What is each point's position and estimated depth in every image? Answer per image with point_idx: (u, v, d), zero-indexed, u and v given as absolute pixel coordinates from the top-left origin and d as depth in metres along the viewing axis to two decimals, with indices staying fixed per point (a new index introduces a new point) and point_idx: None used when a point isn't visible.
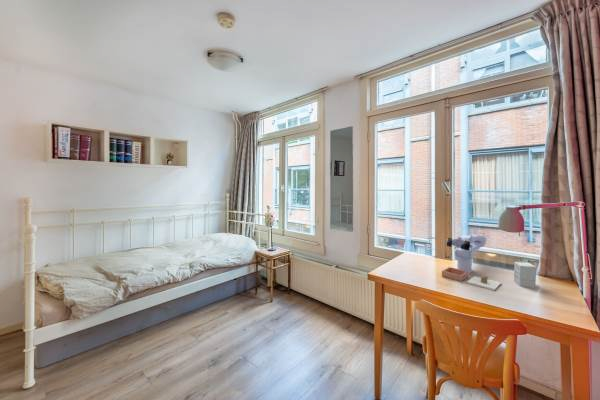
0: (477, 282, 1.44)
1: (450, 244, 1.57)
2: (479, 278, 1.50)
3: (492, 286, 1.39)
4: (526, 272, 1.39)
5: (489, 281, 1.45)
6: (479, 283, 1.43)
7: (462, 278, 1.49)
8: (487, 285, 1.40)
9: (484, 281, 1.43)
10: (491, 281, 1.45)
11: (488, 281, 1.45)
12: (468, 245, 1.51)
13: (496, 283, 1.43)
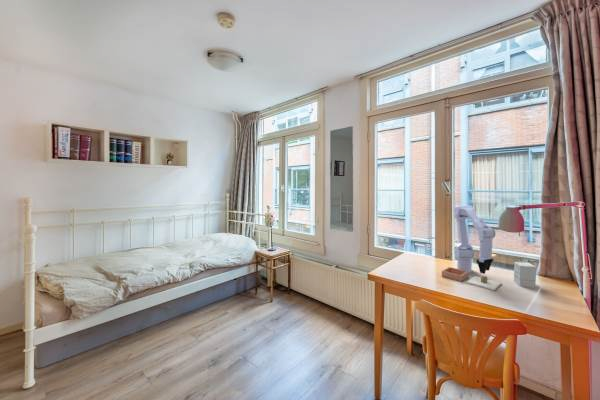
0: (477, 282, 1.44)
1: None
2: (479, 278, 1.50)
3: (492, 286, 1.39)
4: (526, 272, 1.39)
5: (489, 281, 1.45)
6: (479, 283, 1.43)
7: (462, 278, 1.49)
8: (487, 285, 1.40)
9: (484, 281, 1.43)
10: (491, 281, 1.45)
11: (488, 281, 1.45)
12: None
13: (496, 283, 1.43)
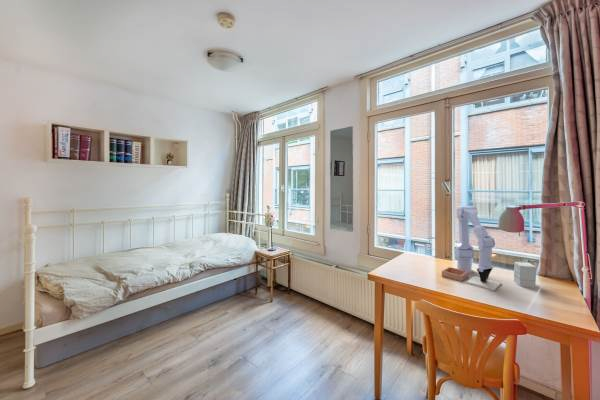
0: (477, 282, 1.44)
1: None
2: (479, 278, 1.50)
3: (492, 286, 1.39)
4: (526, 272, 1.39)
5: (489, 281, 1.45)
6: (479, 283, 1.43)
7: (462, 278, 1.49)
8: (487, 285, 1.40)
9: None
10: (491, 281, 1.45)
11: (488, 281, 1.45)
12: None
13: (496, 283, 1.43)
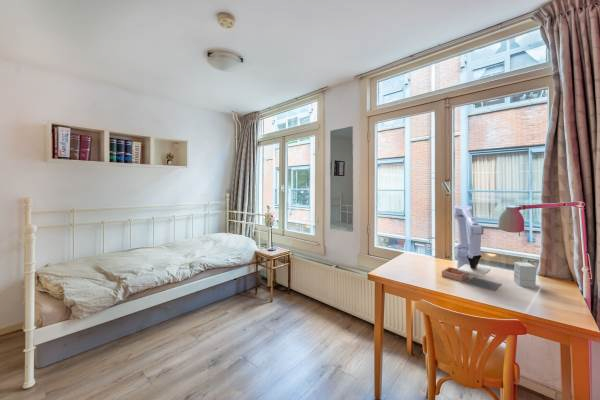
0: (467, 269, 1.47)
1: None
2: (469, 266, 1.53)
3: (481, 272, 1.42)
4: (526, 272, 1.39)
5: (479, 268, 1.48)
6: (469, 270, 1.46)
7: (462, 278, 1.49)
8: (477, 272, 1.43)
9: None
10: (481, 268, 1.49)
11: (478, 268, 1.49)
12: None
13: (485, 269, 1.46)
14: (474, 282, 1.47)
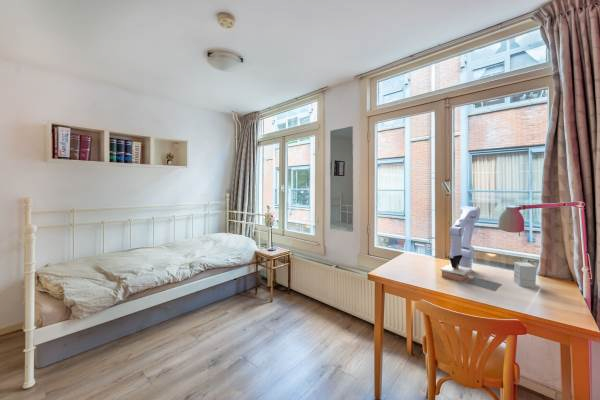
0: (449, 269, 1.55)
1: None
2: None
3: (462, 271, 1.49)
4: (526, 272, 1.39)
5: (460, 268, 1.55)
6: (451, 269, 1.53)
7: (462, 278, 1.49)
8: (458, 271, 1.50)
9: None
10: (462, 267, 1.56)
11: (460, 267, 1.56)
12: None
13: (466, 268, 1.53)
14: (474, 282, 1.47)
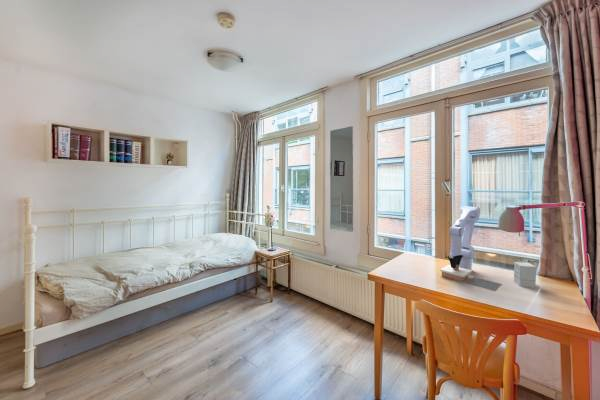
0: (449, 270, 1.55)
1: None
2: None
3: (462, 273, 1.49)
4: (526, 272, 1.39)
5: (460, 269, 1.55)
6: (451, 271, 1.53)
7: (462, 278, 1.49)
8: (458, 272, 1.50)
9: (456, 269, 1.54)
10: (462, 269, 1.56)
11: (460, 269, 1.56)
12: None
13: (467, 270, 1.53)
14: (474, 282, 1.47)
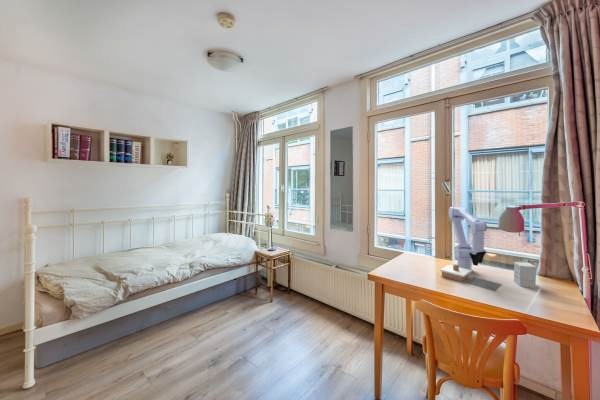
0: (449, 270, 1.55)
1: None
2: (452, 266, 1.60)
3: (462, 273, 1.49)
4: (526, 272, 1.39)
5: (460, 269, 1.55)
6: (451, 271, 1.53)
7: (462, 278, 1.49)
8: (458, 272, 1.50)
9: (456, 269, 1.54)
10: (462, 269, 1.56)
11: (460, 269, 1.56)
12: None
13: (467, 270, 1.53)
14: (474, 282, 1.47)
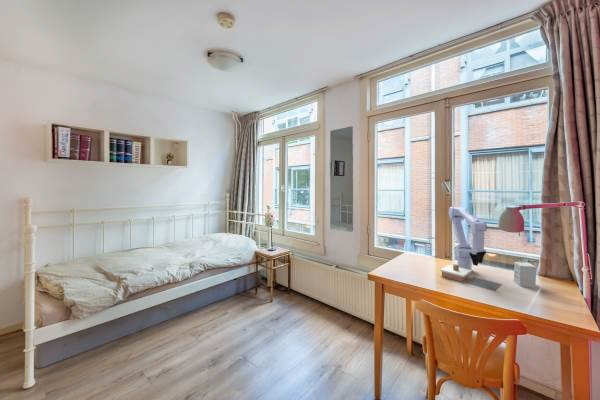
0: (449, 270, 1.55)
1: None
2: (452, 266, 1.60)
3: (462, 273, 1.49)
4: (526, 272, 1.39)
5: (460, 269, 1.55)
6: (451, 271, 1.53)
7: (462, 278, 1.49)
8: (458, 272, 1.50)
9: (456, 269, 1.54)
10: (462, 269, 1.56)
11: (460, 269, 1.56)
12: None
13: (467, 270, 1.53)
14: (474, 282, 1.47)
